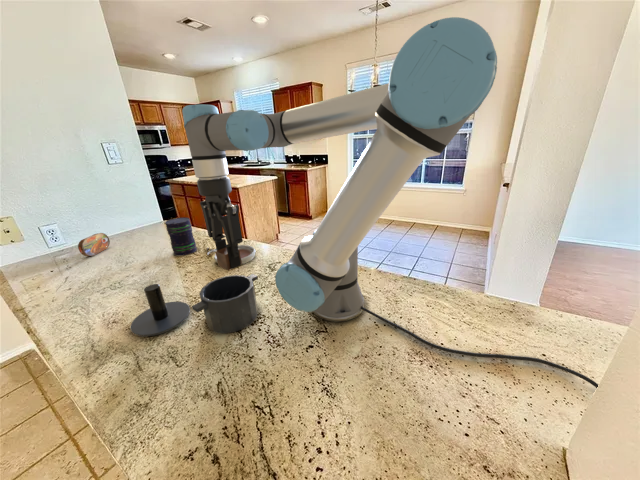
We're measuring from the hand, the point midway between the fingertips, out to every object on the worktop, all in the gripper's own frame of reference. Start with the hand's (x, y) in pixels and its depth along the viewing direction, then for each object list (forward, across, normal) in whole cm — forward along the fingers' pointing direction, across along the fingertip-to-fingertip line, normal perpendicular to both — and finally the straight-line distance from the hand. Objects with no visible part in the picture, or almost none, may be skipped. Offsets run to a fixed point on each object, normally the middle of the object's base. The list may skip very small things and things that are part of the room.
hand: (230, 264), depth 72 cm
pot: (+15, -1, +3) cm, 15 cm away
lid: (+14, +14, +15) cm, 25 cm away
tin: (+15, +97, +10) cm, 99 cm away
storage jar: (+15, +59, -14) cm, 62 cm away
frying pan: (+15, +37, -21) cm, 45 cm away
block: (0, 0, 0) cm, 0 cm away
